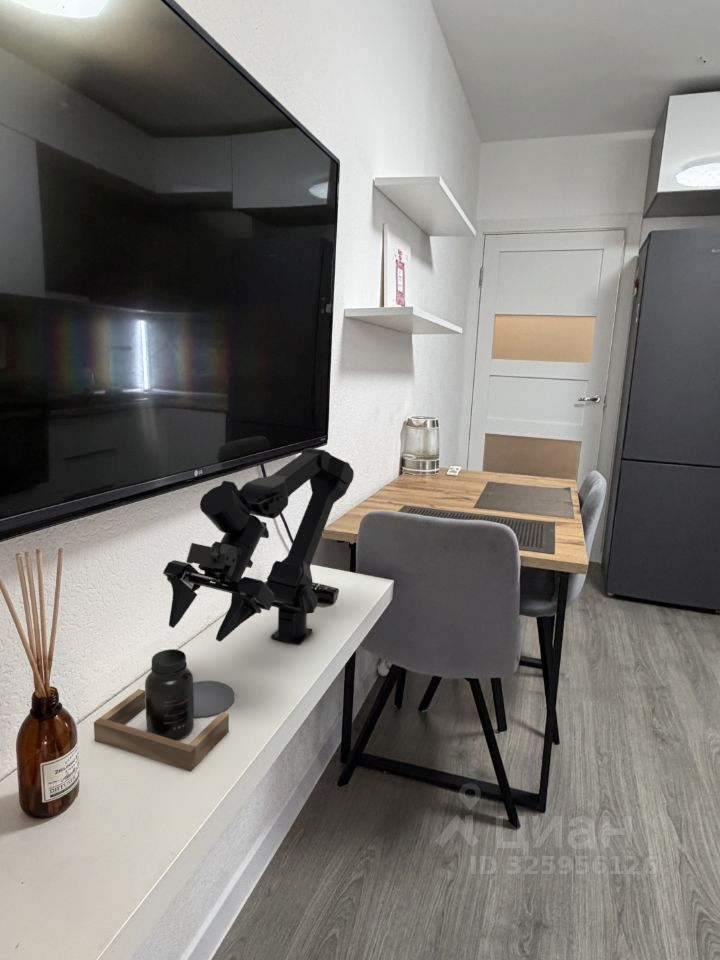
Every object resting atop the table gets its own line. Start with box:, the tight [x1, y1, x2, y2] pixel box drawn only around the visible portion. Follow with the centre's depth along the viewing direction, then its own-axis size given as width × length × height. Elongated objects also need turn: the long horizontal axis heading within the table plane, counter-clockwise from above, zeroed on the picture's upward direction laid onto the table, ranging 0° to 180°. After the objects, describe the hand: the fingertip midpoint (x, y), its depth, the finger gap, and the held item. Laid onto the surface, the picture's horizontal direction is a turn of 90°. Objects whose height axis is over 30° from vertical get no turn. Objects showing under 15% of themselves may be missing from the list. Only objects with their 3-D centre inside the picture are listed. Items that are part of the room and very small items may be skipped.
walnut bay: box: [93, 688, 230, 772], centre depth 88 cm, size 10×16×3 cm, turn 70°
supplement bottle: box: [144, 648, 195, 741], centre depth 88 cm, size 7×7×12 cm
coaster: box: [193, 680, 236, 719], centre depth 97 cm, size 10×10×1 cm
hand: (194, 633), depth 93 cm, fingers open, 9 cm apart
